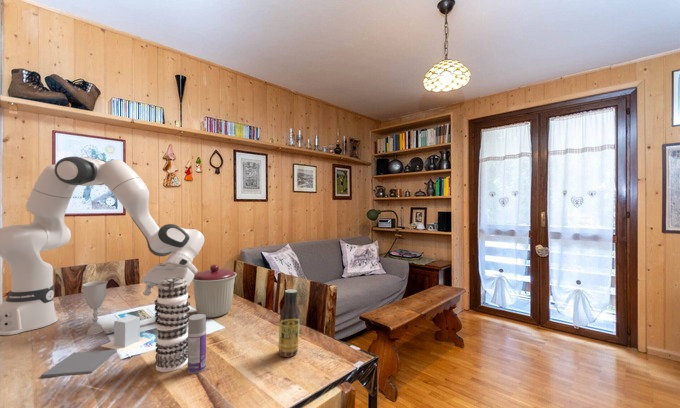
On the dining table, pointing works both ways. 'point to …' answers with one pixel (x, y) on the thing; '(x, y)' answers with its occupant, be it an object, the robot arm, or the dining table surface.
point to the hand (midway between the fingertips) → (155, 296)
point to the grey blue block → (126, 331)
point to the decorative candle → (172, 324)
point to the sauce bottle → (289, 325)
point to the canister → (214, 291)
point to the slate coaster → (79, 363)
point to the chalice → (95, 301)
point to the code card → (128, 348)
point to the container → (196, 343)
